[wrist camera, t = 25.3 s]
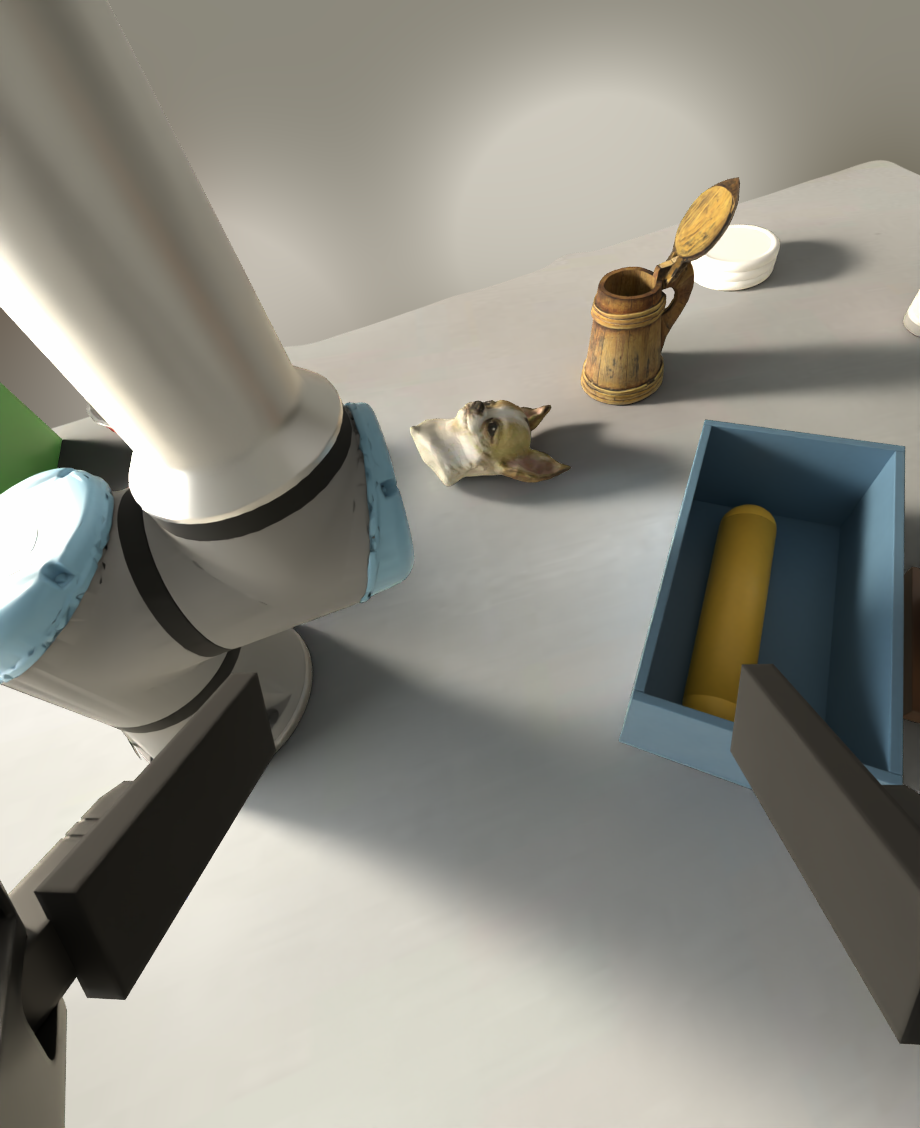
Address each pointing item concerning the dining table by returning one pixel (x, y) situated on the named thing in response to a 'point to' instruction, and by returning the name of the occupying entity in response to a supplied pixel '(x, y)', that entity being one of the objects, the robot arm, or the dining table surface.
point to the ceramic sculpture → (486, 443)
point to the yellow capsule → (731, 610)
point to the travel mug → (913, 316)
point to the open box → (788, 593)
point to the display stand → (911, 646)
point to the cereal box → (23, 442)
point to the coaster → (738, 259)
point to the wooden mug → (650, 305)
